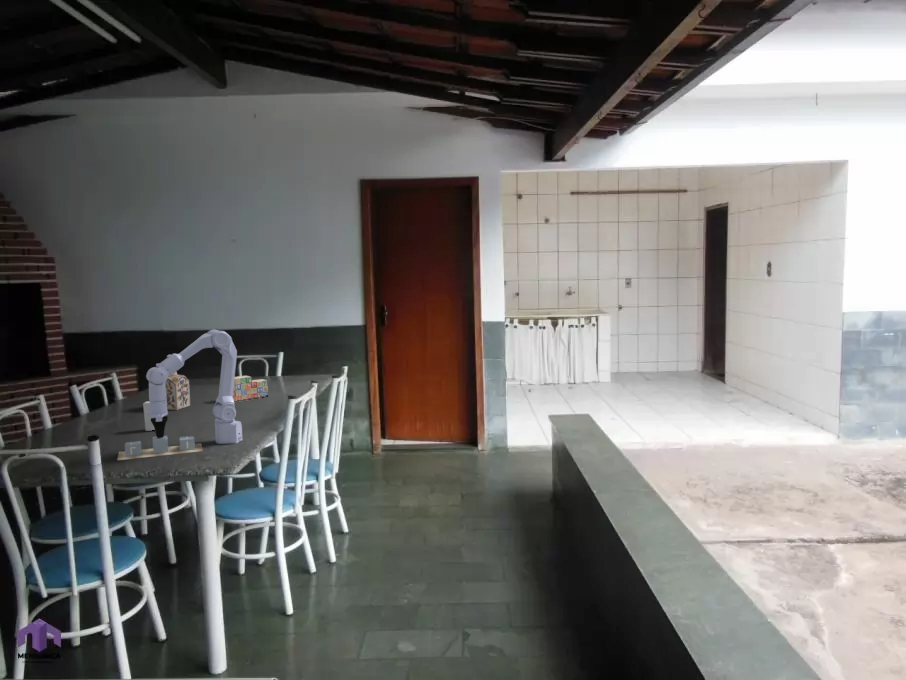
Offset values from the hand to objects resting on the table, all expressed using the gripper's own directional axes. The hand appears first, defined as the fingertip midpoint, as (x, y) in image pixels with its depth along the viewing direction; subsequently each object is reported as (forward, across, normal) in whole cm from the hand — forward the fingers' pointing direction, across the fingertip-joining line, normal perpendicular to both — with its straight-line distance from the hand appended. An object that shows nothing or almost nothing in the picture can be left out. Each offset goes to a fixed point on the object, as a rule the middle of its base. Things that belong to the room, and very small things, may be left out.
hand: (160, 437), depth 238 cm
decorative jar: (+7, -90, +6) cm, 91 cm away
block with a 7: (+5, 0, -9) cm, 10 cm away
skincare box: (+6, -43, -3) cm, 43 cm away
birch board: (+6, 0, 0) cm, 6 cm away
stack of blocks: (+7, -97, +41) cm, 106 cm away
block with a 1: (+5, 0, +9) cm, 10 cm away
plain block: (+5, 0, 0) cm, 5 cm away
